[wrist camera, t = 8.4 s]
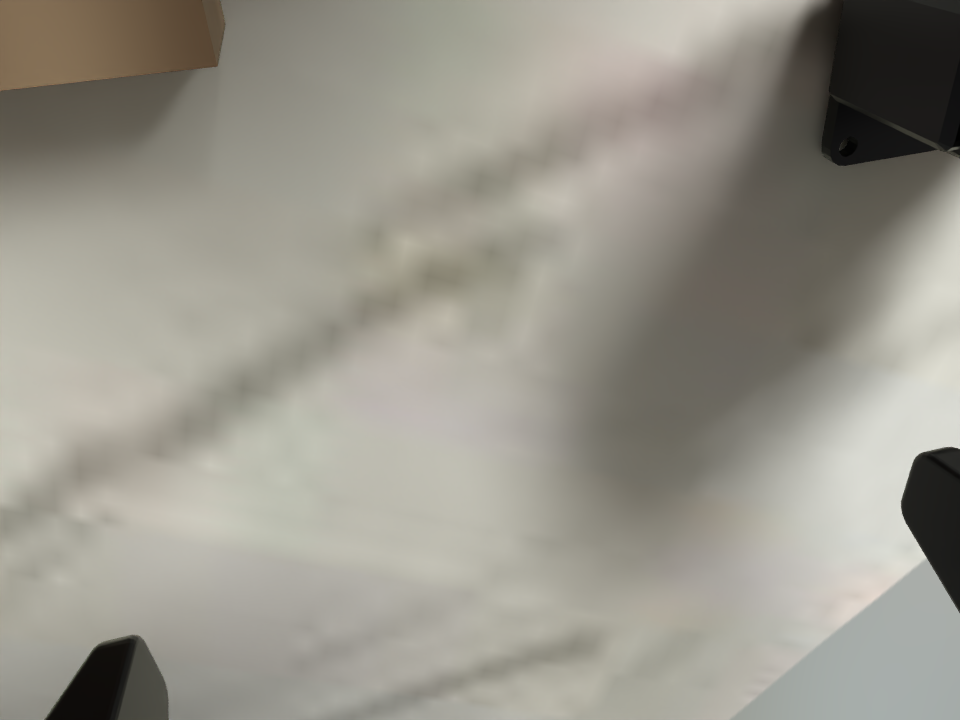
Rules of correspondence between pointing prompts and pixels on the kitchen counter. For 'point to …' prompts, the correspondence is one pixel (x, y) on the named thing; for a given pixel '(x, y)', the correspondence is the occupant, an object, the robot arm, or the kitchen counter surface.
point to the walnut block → (105, 39)
